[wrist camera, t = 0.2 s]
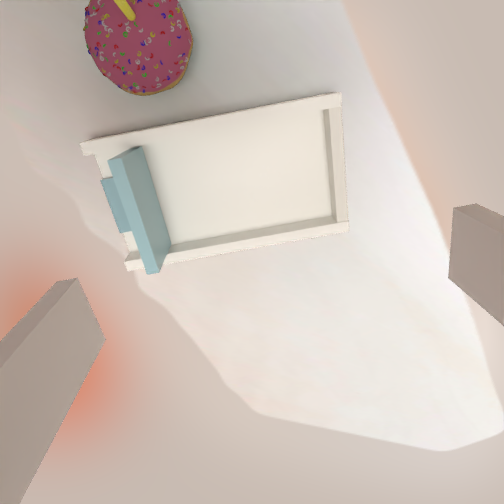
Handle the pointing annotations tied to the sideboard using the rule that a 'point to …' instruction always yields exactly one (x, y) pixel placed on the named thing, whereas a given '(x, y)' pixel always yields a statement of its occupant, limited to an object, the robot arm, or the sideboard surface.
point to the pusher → (137, 206)
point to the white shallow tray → (242, 177)
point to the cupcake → (139, 43)
